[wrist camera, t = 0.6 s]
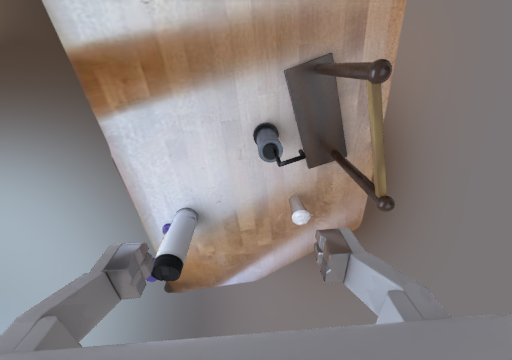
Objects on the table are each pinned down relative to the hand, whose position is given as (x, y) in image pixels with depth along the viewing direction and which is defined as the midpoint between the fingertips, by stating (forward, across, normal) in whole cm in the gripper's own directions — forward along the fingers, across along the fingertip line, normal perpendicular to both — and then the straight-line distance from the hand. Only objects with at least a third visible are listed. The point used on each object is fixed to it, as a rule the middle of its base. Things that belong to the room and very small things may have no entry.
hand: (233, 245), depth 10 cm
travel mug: (+43, +18, +30) cm, 56 cm away
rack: (+43, -18, +3) cm, 46 cm away
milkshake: (+43, -13, +26) cm, 52 cm away
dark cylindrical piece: (+43, -6, +7) cm, 44 cm away
